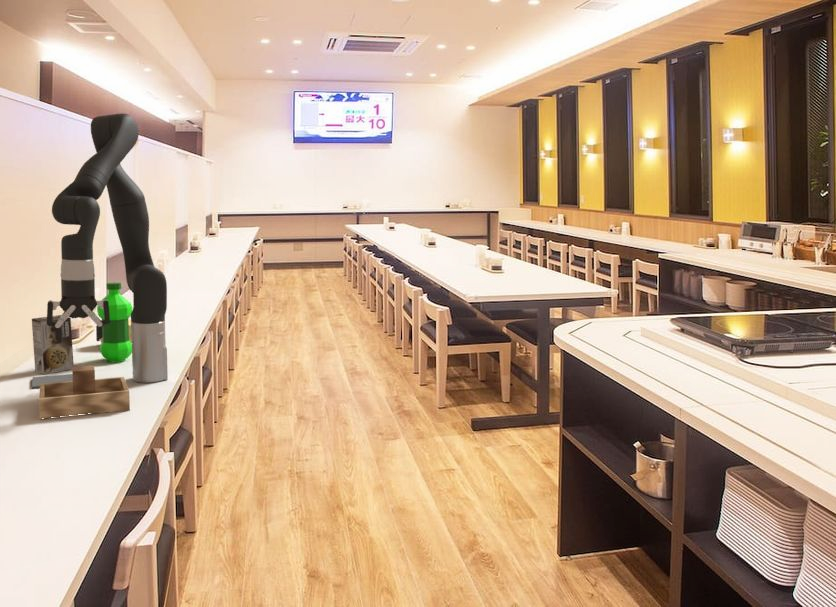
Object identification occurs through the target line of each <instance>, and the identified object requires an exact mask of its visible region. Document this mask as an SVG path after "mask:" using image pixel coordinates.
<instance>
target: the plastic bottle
mask: <svg viewBox="0 0 836 607" xmlns="http://www.w3.org/2000/svg"><path fill="white" fill-rule="evenodd" d="M121 289H122V283H121V282H107V283H106V290H107V291H108V294H107V295H106V296H104V297H103V298H102V299H101V300H100V301H103V300H105V299H107V300H108V303H109V314H110V323H109V324H105V325H103V327H102V333H103V341H102V343H101V342H100V346H99V353H100V354H101V355H102V357H103V358H104V359H105V360H106V361H108V362H110V363H119V362H125V361H126V359H128V358H129V357H130V356H132V343H131V342H130V341H129V322H128V319H130V318H131V312H132V311H133V306H132V303H131V302H130V301H129V300H128V299H127V298H125V297H124V296H123V295H122V294H120V291H121ZM96 312H97V316H99V317H98V318H99V319H100V320H103V319H104V309H101V308H100V306H99V305H97V306H96Z"/></svg>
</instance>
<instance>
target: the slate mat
mask: <svg viewBox="0 0 836 607" xmlns="http://www.w3.org/2000/svg"><path fill="white" fill-rule="evenodd" d="M68 381H73V376H72V373H70V374H58V375H57V374H56V375H44V376H43V375H42V376H32V381H31V390H33V389H34V390H35V389H40V384H44V383H56V382H68Z"/></svg>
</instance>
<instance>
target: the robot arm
mask: <svg viewBox="0 0 836 607" xmlns="http://www.w3.org/2000/svg"><path fill="white" fill-rule="evenodd" d="M90 134H91V138H92V143H93V145H94V149H95V154H93V155H92V156H91V157H89V158H88V159H87V160H86V161H85V162H84V163H83V164H82V166H81V167H80V169H79V171H77V174H76V177H75V179H74V180H73V181H72V182H71V183H70V184H69V185H68V186H66V187H65V188H64V189H63V190H62V191H61V192H59V194H57V196H56V197H55V199H54V201H53V202H52V206H51V214H52V217H53V219H54V220H55V221H56V222H57V223H59V224H61V225H74V226H75V225H76V226H79V229H78V230H77V232H76V233H71V234H66V235H64V236H62V238H61V243H60V247H61V249H60V250H61V251H60V252H61V264H60V286H61V287H60V290H61V293H60V295H61V297H60V298H61V299H60V301H58V300H57V301H53V300H50V299H49V300H48V301H47V304H46V305H47V306H46V307H47V308H46V309H47V310H46V317H47V325H48V326H53V327H55V334H56V340H57V341H59V343H62V327H61V325H62V324H63V323H64V322H65V321H66V319H67V318H68V317H69V318H71V319H78V318H81V319H86V318H88V317H89V318H90V319H91V320H92V321H93V322H94V323H95V325H96V326H95V328H96V331H95V332H96V333H95V334H96V337H95V338H96V339H95V340H96V342H101V341H100V339H102V337H103V333H102V327H103V325H105V324H109V323H110V314H109V303H108V300H107V299H105V300H103V301H101V300H96V291H95V290H96V285H95V281H96V280H95V277H96V275H95V274H96V273H95V264H94V246H93V245H94V239H95V235H96V234H95V233H96V230H97V227H98V222H99V219H100V216H101V207H100V205H99V202H98V201H97V200H99V199H100V198H101V196H102V194H103V192H104V190H105V188H106V190H107V193H108V194H107V195H108V200H109V204H110V209H111V213H112V214H111V215H112V217H113V221H114V224H115V229H116V232H117V236H118V239H119V243H120V246H121V249H122V252H123V261H124V267H125V278H126V285H127V287H128V289H129V290H130V291H131V293H133V294H132V295H133V296H132V297H133V301H132V302H133V306H132V312H131V316H130V320H131V338H132V343H131V344H132V353H131V363H132V365H131V366H132V380H133V381H134V382H136V383H156V382H161V381H162V382H163V381H167V380H168V379H169V377H168V372H169V371H168V348H167V346H166V344H167V342H166V320H165V319H166V313H167V309H168V308H167V307H168V289H167V288H168V286H167V279H166V275H165V274H164V273H163V272H162V271H161V269H158V268H157V267H155V264H154V261H153V258H152V255H151V251H150V245H149V236H150V235H149V234H150V217H149V211H148V207H147V202H146V198H145V195H144V193H143V190H142V189H141V188H140V187H139V186H138V184H137V183H136V182H135V181H134V180H133V179H132V178H131V177H130V176H129V175H128V173H127V172H126V171H125V169H124V168H123V167H122V165H121V163H122V161H123V160H124V159H125V158H126V157H127V156H128V154H129V153H130V152H131V150H132V149H133V148H134V147H135V146H136V144H137V142H138V139H139V127H138V124H137V122H136V120H135V118H134V117H133V116H132V115H131V114H127V113H112V114H105V115H98V116H95V117H93V118H92V120H91V122H90ZM98 305H99V306H100V308H101V309H104V319H103V320H102V319H101V318H100V317H98V314H96V313H95V312H94V310H95V309H96V308H97V306H98ZM58 307H60V308H61V309H62V311H63V313H62V314H60V315H61V317H60V318H59V319H58V320H57V321H53V316H54V311H55V310H57V308H58Z"/></svg>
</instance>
